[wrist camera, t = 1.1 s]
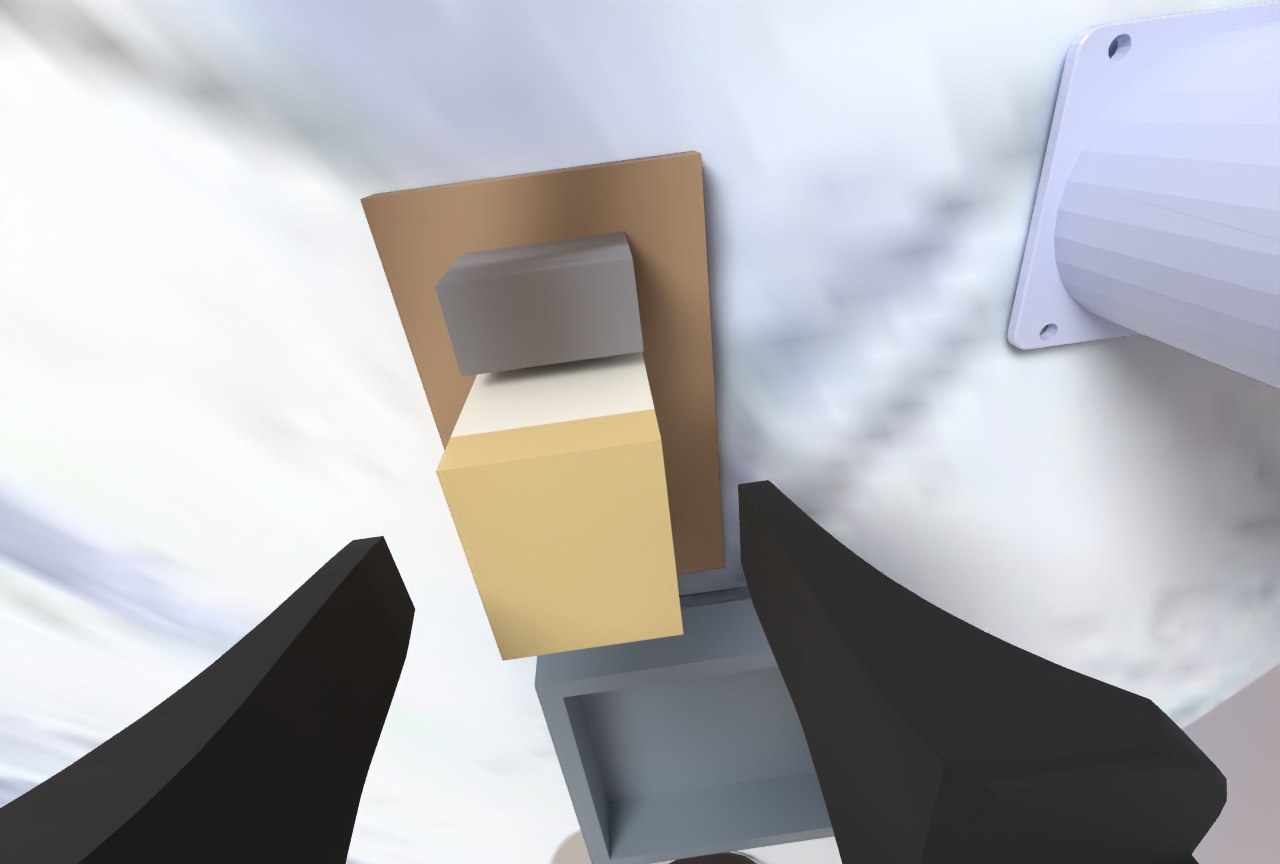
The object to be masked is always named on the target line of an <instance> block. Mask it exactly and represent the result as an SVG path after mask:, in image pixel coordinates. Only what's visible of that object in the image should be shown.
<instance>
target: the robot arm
mask: <svg viewBox="0 0 1280 864" xmlns="http://www.w3.org/2000/svg"><path fill="white" fill-rule="evenodd" d="M1115 38H1116V39H1117V41H1118V45H1117V50H1116V52H1115V54H1114V55H1113V56H1112V57H1111V58H1110V57H1109V56H1108V49H1109V47H1110V44H1111V42H1112V41H1113V40H1114V39H1115ZM1046 325H1048V328H1047V330H1046V331H1045V332H1044V333H1043V334H1042V335H1040V332H1041V330H1042V328H1044V327H1045V326H1046ZM1137 334H1143V335H1146V336H1148V337H1150V338H1153V339H1155V340H1158V341H1160V342H1163V343H1165V344H1168V345H1170V346H1173V347H1175V348H1178V349H1180V350H1183V351H1185V352H1188V353H1190V354H1193V355H1195V356H1198V357H1200V358H1203V359H1205V360H1208V361H1210V362H1213V363H1215V364H1218V365H1220V366H1223V367H1225V368H1228V369H1230V370H1233V371H1235V372H1238V373H1240V374H1243V375H1245V376H1248V377H1250V378H1253V379H1255V380H1258V381H1260V382H1263V383H1265V384H1268V385H1270V386H1273V387H1275V388H1278V389H1280V1H1274V2H1266V3H1259V4H1251V5H1244V6H1237V7H1229V8H1222V9H1214V10H1207V11H1199V12H1192V13H1184V14H1177V15H1169V16H1162V17H1155V18H1147V19H1140V20H1132V21H1125V22H1117V23H1110V24H1103V25H1097V26H1092V27H1089V28H1086V29H1084V30H1083V31H1082V32H1081V33H1079V34H1078V35H1077V36H1076V37H1075V39H1074V40H1073V42H1072V43H1071V44H1070V47H1069V50H1068V52H1067V56H1066V60H1065V65H1064V70H1063V74H1062V79H1061V84H1060V89H1059V93H1058V98H1057V103H1056V107H1055V112H1054V117H1053V121H1052V126H1051V131H1050V136H1049V140H1048V145H1047V150H1046V154H1045V159H1044V164H1043V169H1042V173H1041V178H1040V183H1039V187H1038V192H1037V197H1036V201H1035V206H1034V211H1033V216H1032V220H1031V225H1030V230H1029V234H1028V239H1027V244H1026V248H1025V253H1024V258H1023V263H1022V267H1021V272H1020V277H1019V281H1018V286H1017V291H1016V296H1015V300H1014V305H1013V310H1012V314H1011V319H1010V324H1009V328H1008V341H1009V342H1010V344H1012V345H1014V346H1016V347H1017V348H1019V349H1021V350H1029V349H1037V348H1044V347H1051V346H1058V345H1065V344H1072V343H1080V342H1087V341H1094V340H1101V339H1108V338H1115V337H1122V336H1130V335H1137ZM738 493H739V519H740V545H741V562H742V566H743V570H744V574H745V577H746V581H747V585H748V588H749V592H750V595H751V599H752V602H753V606H754V608H755V611H756V613H757V616H758V618H759V621H760V623H761V626H762V628H763V631H764V633H765V635H766V638H767V640H768V643H769V645H770V648H771V650H772V653H773V655H774V657H775V660H776V662H777V665H778V667H779V670H780V672H781V674H782V677H783V679H784V682H785V684H786V687H787V689H788V691H789V694H790V696H791V699H792V701H793V704H794V706H795V709H796V712H797V714H798V717H799V720H800V723H801V725H802V728H803V731H804V735H805V738H806V741H807V744H808V748H809V751H810V754H811V758H812V761H813V764H814V767H815V771H816V774H817V777H818V780H819V784H820V787H821V791H822V794H823V798H824V801H825V804H826V808H827V811H828V815H829V818H830V822H831V825H832V828H833V832H834V835H835V839H836V842H837V846H838V849H839V853H840V857H841V860H842V864H1199V863H1198V862H1197V861H1196V860H1195V858H1194V857H1193V856H1192V855H1191V854H1192V853H1193V851H1194V850H1195V848H1196V847H1197V846H1198V844H1199V843H1200V841H1201V840H1202V839H1203V837H1204V836H1205V835H1206V833H1207V832H1208V831H1209V829H1210V828H1211V826H1212V825H1213V824H1214V822H1215V821H1216V819H1217V818H1218V817H1219V815H1220V813H1221V811H1222V809H1223V807H1224V805H1225V803H1226V800H1227V784H1226V778H1225V776H1224V775H1223V774H1222V773H1221V771H1220V770H1219V769H1218V768H1217V767H1216V765H1215V764H1214V763H1213V762H1212V761H1211V760H1210V759H1209V758H1208V757H1207V756H1206V755H1205V754H1204V753H1203V752H1202V751H1201V750H1200V749H1199V748H1198V747H1197V746H1196V744H1194V742H1193V741H1192V740H1191V739H1190V738H1189V737H1188V736H1187V735H1186V734H1185V733H1184V732H1183V731H1182V730H1181V729H1180V728H1179V727H1178V726H1177V725H1176V724H1175V723H1174V722H1173V721H1172V720H1171V719H1170V718H1169V717H1168V716H1167V715H1166V714H1165V713H1164V712H1163V711H1162V710H1161V709H1160V708H1159V707H1158V706H1157V705H1155V704H1154V703H1153V702H1152V701H1151V700H1150V699H1147V698H1145V697H1142V696H1139V695H1137V694H1134V693H1131V692H1129V691H1126V690H1123V689H1121V688H1118V687H1115V686H1113V685H1110V684H1107V683H1105V682H1102V681H1099V680H1097V679H1094V678H1091V677H1089V676H1086V675H1083V674H1081V673H1078V672H1075V671H1073V670H1070V669H1067V668H1065V667H1063V666H1060V665H1058V664H1055V663H1053V662H1051V661H1048V660H1046V659H1044V658H1041V657H1039V656H1037V655H1035V654H1032V653H1030V652H1028V651H1025V650H1023V649H1021V648H1018V647H1016V646H1014V645H1012V644H1010V643H1008V642H1005V641H1003V640H1001V639H999V638H997V637H995V636H993V635H991V634H988V633H986V632H984V631H982V630H980V629H978V628H977V627H975V626H973V625H971V624H969V623H967V622H965V621H963V620H961V619H959V618H957V617H955V616H953V615H951V614H949V613H948V612H946V611H944V610H942V609H940V608H938V607H937V606H935V605H933V604H931V603H930V602H928V601H926V600H924V599H923V598H921V597H919V596H918V595H916V594H915V593H913V592H911V591H910V590H908V589H906V588H905V587H903V586H901V585H900V584H898V583H897V582H895V581H893V580H892V579H890V578H889V577H887V576H886V575H884V574H883V573H881V572H880V571H878V570H877V569H875V568H874V567H872V566H871V565H870V564H868V563H867V562H866V561H864V560H863V559H861V558H860V557H859V556H857V555H856V554H855V553H853V552H852V551H851V550H849V549H848V548H847V547H845V546H844V545H843V544H842V543H840V542H839V541H838V540H837V539H835V538H834V537H833V536H832V535H831V534H829V533H828V532H827V531H826V530H824V529H823V528H822V527H821V526H819V525H818V524H817V523H816V522H815V521H814V520H812V519H811V518H810V517H809V516H808V515H807V514H806V513H804V512H803V511H802V510H801V509H800V508H799V507H798V506H796V505H795V504H794V503H793V502H792V501H791V500H790V499H789V498H788V497H787V496H785V495H784V494H783V493H782V492H781V491H780V490H779V489H778V488H777V487H776V486H775V485H773V484H772V483H771V482H770V481H768V480H766V481H759V482H752V483H745V484H739V485H738ZM414 612H415V608H414V605H413V603H412V601H411V598H410V596H409V594H408V592H407V589H406V587H405V585H404V582H403V580H402V578H401V576H400V573H399V571H398V569H397V566H396V564H395V562H394V559H393V557H392V555H391V553H390V550H389V548H388V546H387V543H386V541H385V539H384V537H383V536H379V537H372V538H366V539H359V540H353V541H352V542H350V543H349V544H348V545H347V546H345V547H344V548H343V549H342V550H341V551H339V552H338V553H337V554H336V555H335V556H334V557H333V558H331V559H330V560H329V561H328V562H327V563H326V564H325V565H324V566H323V567H321V568H320V569H319V570H318V571H317V572H316V573H315V574H314V575H313V576H312V577H311V578H310V579H308V580H307V581H306V582H305V583H304V584H303V585H302V586H301V587H300V588H299V589H298V590H296V591H295V592H294V593H293V594H292V595H291V596H290V597H289V598H288V599H287V600H285V601H284V602H283V603H282V604H281V605H280V606H279V607H278V608H277V609H276V610H274V611H273V612H272V613H271V614H270V615H269V616H268V617H267V618H266V619H264V620H263V621H262V622H261V623H260V624H259V625H257V626H256V627H255V628H254V629H253V630H252V631H250V632H249V633H248V634H247V635H246V636H245V637H243V638H242V639H241V640H240V641H239V642H237V643H236V644H235V645H234V646H233V647H232V648H230V649H229V650H228V651H227V652H226V653H225V654H223V655H222V656H221V657H220V658H219V659H218V660H216V661H215V662H214V663H213V664H211V665H210V666H209V667H208V668H206V669H205V670H204V671H203V672H201V673H200V674H199V675H198V676H196V677H195V678H194V679H192V680H191V681H190V682H189V683H187V684H186V685H185V686H183V687H182V688H181V689H179V690H178V691H177V692H175V693H174V694H173V695H171V696H170V697H169V698H167V699H166V700H165V701H163V702H162V703H161V704H159V705H158V706H157V707H155V708H154V709H152V710H151V711H150V712H148V713H147V714H145V715H144V716H143V717H141V718H140V719H138V720H137V721H136V722H134V723H133V724H131V725H130V726H128V727H127V728H125V729H124V730H122V731H121V732H119V733H118V734H116V735H115V736H113V737H112V738H110V739H109V740H107V741H106V742H104V743H103V744H101V745H100V746H98V747H97V748H95V749H94V750H92V751H91V752H89V753H88V754H86V755H85V756H83V757H82V758H81V759H79V760H78V761H76V762H75V763H73V764H72V765H70V766H68V767H67V768H65V769H64V770H62V771H61V772H59V773H57V774H56V775H54V776H53V777H51V778H49V779H48V780H46V781H44V782H43V783H41V784H40V785H38V786H36V787H35V788H33V789H32V790H30V791H28V792H27V793H25V794H23V795H22V796H20V797H18V798H17V799H15V800H13V801H12V802H10V803H8V804H7V805H5V806H3V807H2V808H0V864H346V859H347V854H348V850H349V845H350V841H351V837H352V832H353V828H354V824H355V819H356V815H357V811H358V806H359V802H360V798H361V794H362V791H363V787H364V784H365V780H366V777H367V773H368V770H369V767H370V764H371V761H372V758H373V755H374V752H375V749H376V746H377V743H378V740H379V737H380V734H381V731H382V728H383V725H384V723H385V720H386V717H387V714H388V711H389V708H390V705H391V702H392V699H393V696H394V693H395V690H396V687H397V684H398V681H399V678H400V675H401V671H402V668H403V665H404V662H405V659H406V655H407V650H408V645H409V640H410V636H411V630H412V624H413V618H414Z"/></svg>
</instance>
